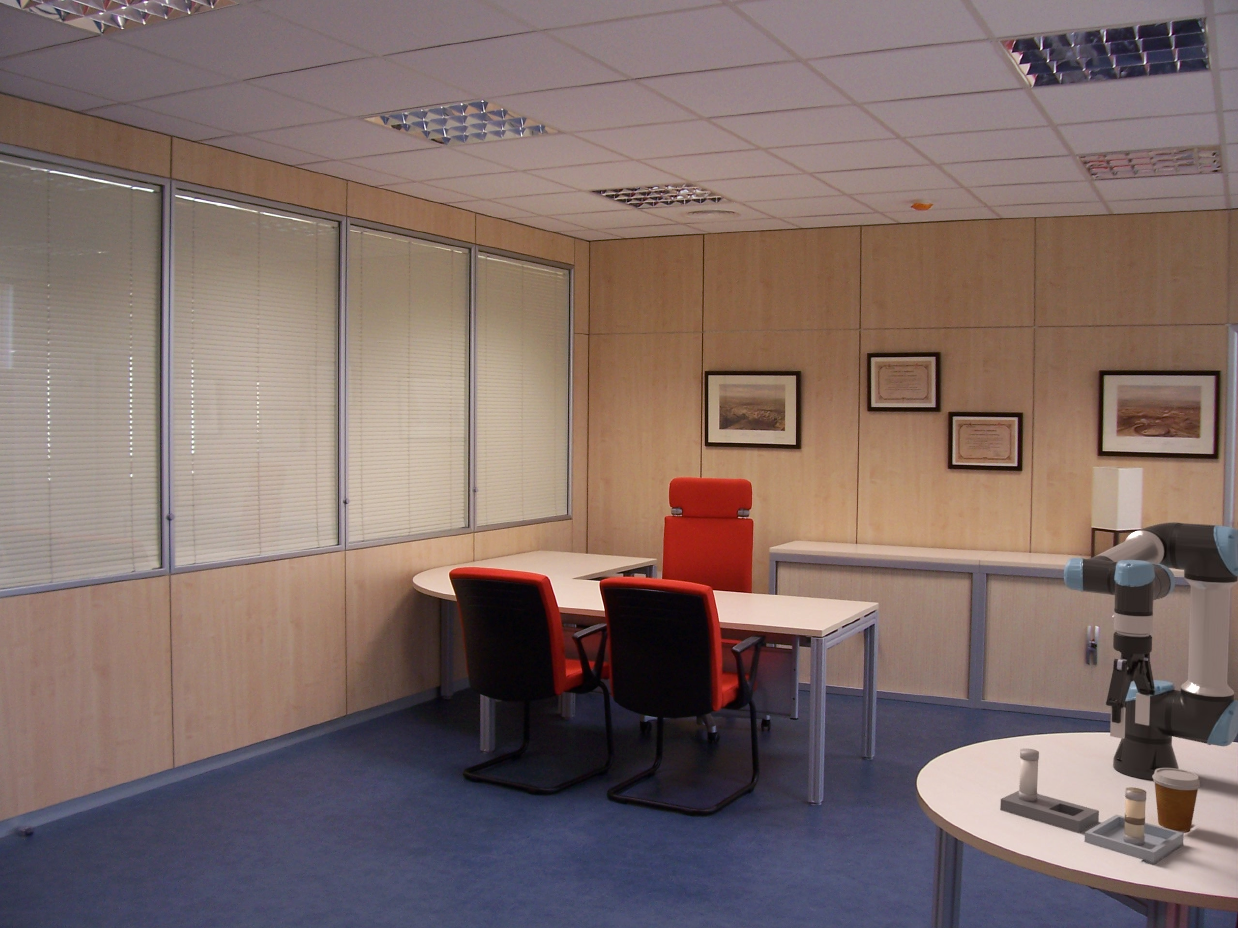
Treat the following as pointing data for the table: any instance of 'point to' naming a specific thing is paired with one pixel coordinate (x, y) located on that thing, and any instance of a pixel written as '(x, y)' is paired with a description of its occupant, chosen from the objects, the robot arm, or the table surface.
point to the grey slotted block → (1045, 800)
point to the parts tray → (1151, 852)
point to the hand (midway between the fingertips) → (1129, 730)
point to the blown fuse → (1135, 816)
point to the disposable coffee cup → (1175, 797)
